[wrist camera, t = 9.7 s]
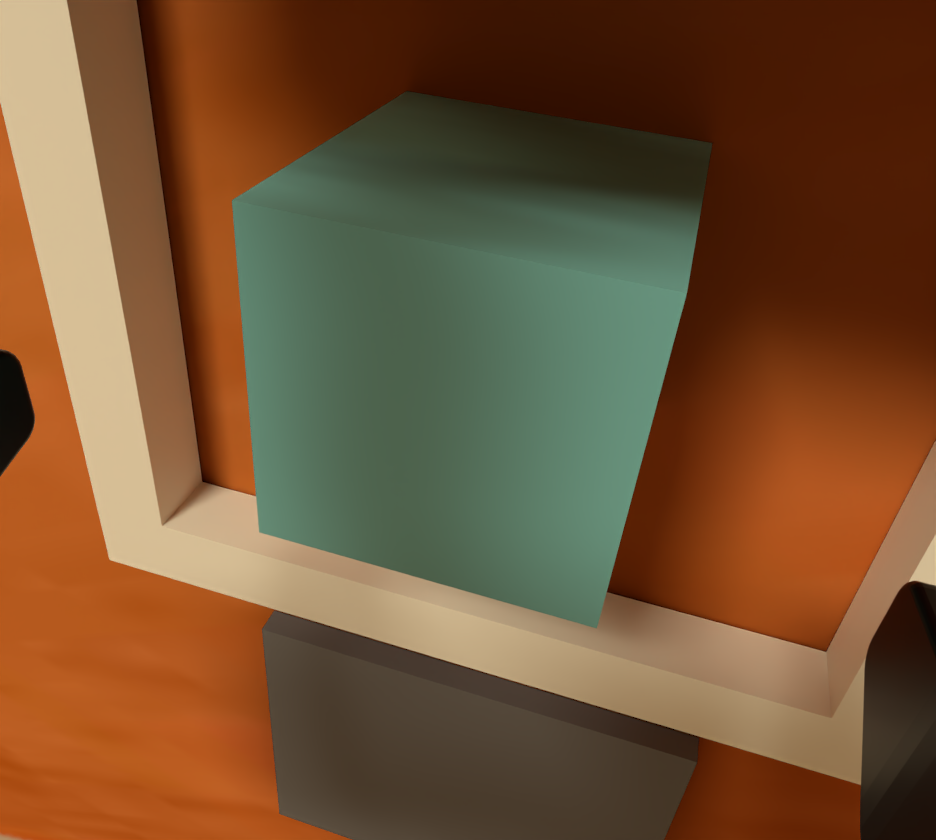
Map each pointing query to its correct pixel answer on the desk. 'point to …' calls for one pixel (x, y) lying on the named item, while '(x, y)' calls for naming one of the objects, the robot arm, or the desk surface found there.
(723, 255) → the desk surface
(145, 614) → the desk surface
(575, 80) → the desk surface
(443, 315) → the block
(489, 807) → the mat
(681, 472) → the desk surface
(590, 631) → the white flat frame
